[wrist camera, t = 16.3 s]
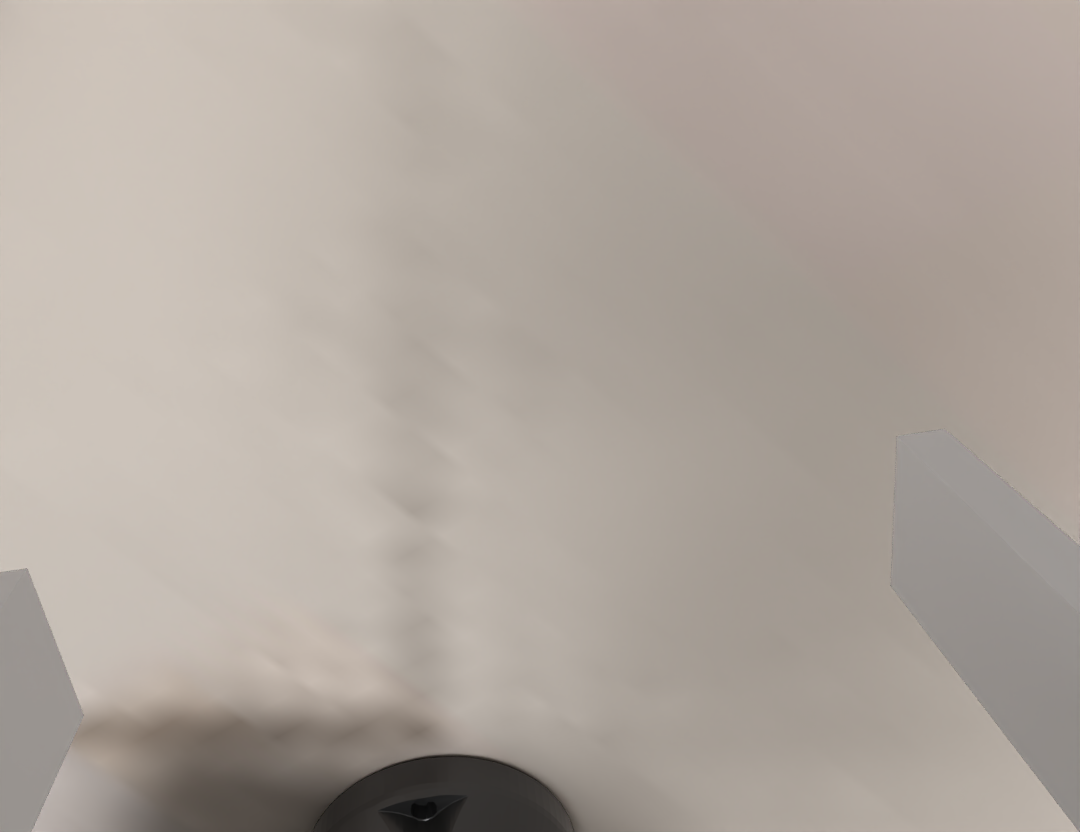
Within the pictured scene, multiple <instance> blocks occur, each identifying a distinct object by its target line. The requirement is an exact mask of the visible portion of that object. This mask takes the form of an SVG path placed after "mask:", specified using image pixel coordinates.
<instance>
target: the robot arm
mask: <svg viewBox="0 0 1080 832" xmlns="http://www.w3.org/2000/svg"><path fill="white" fill-rule="evenodd" d="M891 587H892V588H893V590H894V591H895V592H896V594H897V595H898V596H899V598H900V599H901V600H902V601H903V603H904V604H905V605H906V607H907V608H908V609H909V611H910V612H911V613H912V615H913V616H914V617H915V618H916V620H917V621H918V622H919V624H920V625H921V626H922V628H923V629H924V630H925V631H926V633H927V634H928V635H929V637H930V638H931V639H932V641H933V642H934V643H935V644H936V646H937V647H938V648H939V650H940V651H941V652H942V654H943V655H944V656H945V658H946V659H947V660H948V661H949V663H950V664H951V665H952V667H953V668H954V669H955V671H956V672H957V673H958V674H959V676H960V677H961V678H962V680H963V681H964V682H965V684H966V685H967V686H968V688H969V689H970V690H971V691H972V693H973V694H974V695H975V697H976V698H977V699H978V701H979V702H980V703H981V704H982V706H983V707H984V708H985V710H986V711H987V712H988V714H989V715H990V716H991V717H992V719H993V720H994V721H995V723H996V724H997V725H998V727H999V728H1000V729H1001V731H1002V732H1003V733H1004V734H1005V736H1006V737H1007V738H1008V740H1009V741H1010V742H1011V744H1012V745H1013V746H1014V747H1015V749H1016V750H1017V751H1018V753H1019V754H1020V755H1021V757H1022V758H1023V759H1024V760H1025V762H1026V763H1027V764H1028V766H1029V767H1030V768H1031V770H1032V771H1033V772H1034V774H1035V775H1036V776H1037V777H1038V779H1039V780H1040V781H1041V783H1042V784H1043V785H1044V787H1045V788H1046V789H1047V790H1048V792H1049V793H1050V794H1051V796H1052V797H1053V798H1054V800H1055V801H1056V802H1057V804H1058V805H1059V806H1060V807H1061V809H1062V810H1063V811H1064V813H1065V814H1066V815H1067V817H1068V818H1069V819H1070V820H1071V822H1072V823H1073V824H1074V826H1075V827H1076V828H1077V830H1078V831H1079V832H1080V546H1079V545H1078V544H1077V543H1076V542H1075V541H1073V540H1072V539H1071V538H1070V537H1069V536H1068V535H1067V534H1065V533H1064V532H1063V531H1062V530H1061V529H1060V528H1058V527H1057V526H1056V525H1055V524H1054V523H1053V522H1052V521H1050V520H1049V519H1048V518H1047V517H1046V516H1045V515H1044V514H1042V513H1041V512H1040V511H1039V510H1038V509H1037V508H1035V507H1034V506H1033V505H1032V504H1031V503H1030V502H1029V501H1027V500H1026V499H1025V498H1024V497H1023V496H1022V495H1021V494H1019V493H1018V492H1017V491H1016V490H1015V489H1014V488H1012V487H1011V486H1010V485H1009V484H1008V483H1007V482H1006V481H1004V480H1003V479H1002V478H1001V477H1000V476H999V475H998V474H996V473H995V472H994V471H993V470H992V469H991V468H989V467H988V466H987V465H986V464H985V463H984V462H983V461H981V460H980V459H979V458H978V457H977V456H976V455H975V454H973V453H972V452H971V451H970V450H969V449H968V448H966V447H965V446H964V445H963V444H962V443H961V442H960V441H958V440H957V439H956V438H955V437H954V436H953V435H952V434H950V433H949V432H948V431H947V430H946V429H940V430H934V431H927V432H920V433H914V434H907V435H901V436H897V441H896V465H895V490H894V514H893V539H892V563H891ZM83 716H84V714H83V712H82V709H81V706H80V704H79V701H78V699H77V696H76V693H75V691H74V688H73V686H72V683H71V680H70V678H69V675H68V673H67V670H66V667H65V665H64V662H63V660H62V657H61V654H60V652H59V649H58V647H57V644H56V641H55V639H54V636H53V634H52V631H51V628H50V626H49V623H48V621H47V618H46V615H45V613H44V610H43V608H42V605H41V602H40V600H39V597H38V595H37V592H36V589H35V587H34V584H33V582H32V579H31V576H30V574H29V571H28V569H27V568H26V569H20V570H13V571H6V572H0V832H31V831H32V829H33V827H34V825H35V822H36V820H37V818H38V816H39V814H40V811H41V809H42V807H43V805H44V803H45V800H46V798H47V796H48V794H49V791H50V789H51V787H52V785H53V783H54V780H55V778H56V776H57V774H58V772H59V769H60V767H61V765H62V763H63V760H64V758H65V756H66V754H67V752H68V749H69V747H70V745H71V743H72V741H73V738H74V736H75V734H76V732H77V729H78V727H79V725H80V723H81V721H82V718H83ZM313 832H574V831H573V827H572V824H571V821H570V819H569V817H568V815H567V813H566V811H565V810H564V808H563V806H562V805H561V804H560V802H559V801H558V800H557V799H556V798H555V796H554V795H553V794H552V793H551V792H550V791H549V790H548V789H546V788H545V787H544V786H543V785H541V784H540V783H539V782H537V781H536V780H534V779H533V778H531V777H529V776H528V775H526V774H524V773H522V772H520V771H518V770H515V769H513V768H510V767H508V766H505V765H502V764H499V763H495V762H491V761H487V760H481V759H475V758H465V757H436V758H427V759H421V760H415V761H411V762H406V763H402V764H399V765H395V766H393V767H390V768H387V769H384V770H382V771H379V772H377V773H375V774H373V775H371V776H369V777H367V778H365V779H363V780H362V781H360V782H358V783H357V784H355V785H354V786H352V787H351V788H349V789H348V790H347V791H345V792H344V793H343V794H342V795H340V796H339V797H338V798H337V799H336V800H335V801H334V802H333V803H332V804H331V805H330V806H329V807H328V808H327V810H326V811H325V812H324V813H323V815H322V816H321V818H320V819H319V820H318V822H317V824H316V826H315V827H314V829H313Z"/></svg>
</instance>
